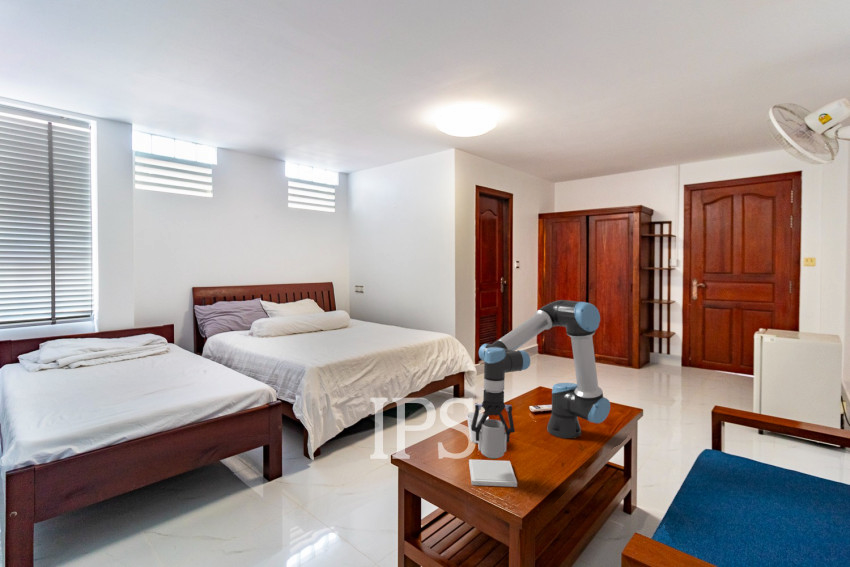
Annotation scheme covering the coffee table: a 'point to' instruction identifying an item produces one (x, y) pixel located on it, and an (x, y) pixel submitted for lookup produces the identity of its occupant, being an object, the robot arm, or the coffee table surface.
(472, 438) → the cup
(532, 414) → the coffee table surface
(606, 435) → the coffee table surface
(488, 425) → the mug
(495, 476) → the plate
